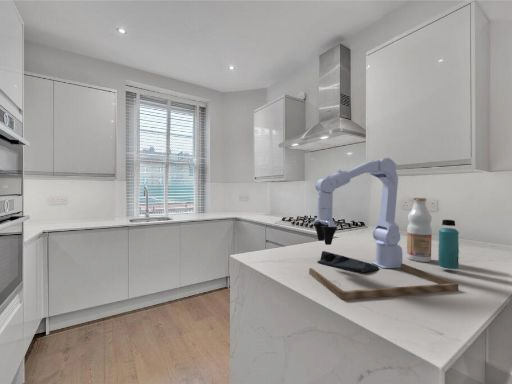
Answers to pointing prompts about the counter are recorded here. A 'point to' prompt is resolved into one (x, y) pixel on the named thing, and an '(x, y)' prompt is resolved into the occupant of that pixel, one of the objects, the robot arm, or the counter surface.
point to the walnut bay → (368, 293)
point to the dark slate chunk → (345, 262)
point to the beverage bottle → (448, 246)
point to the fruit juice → (419, 232)
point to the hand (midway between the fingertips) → (324, 242)
